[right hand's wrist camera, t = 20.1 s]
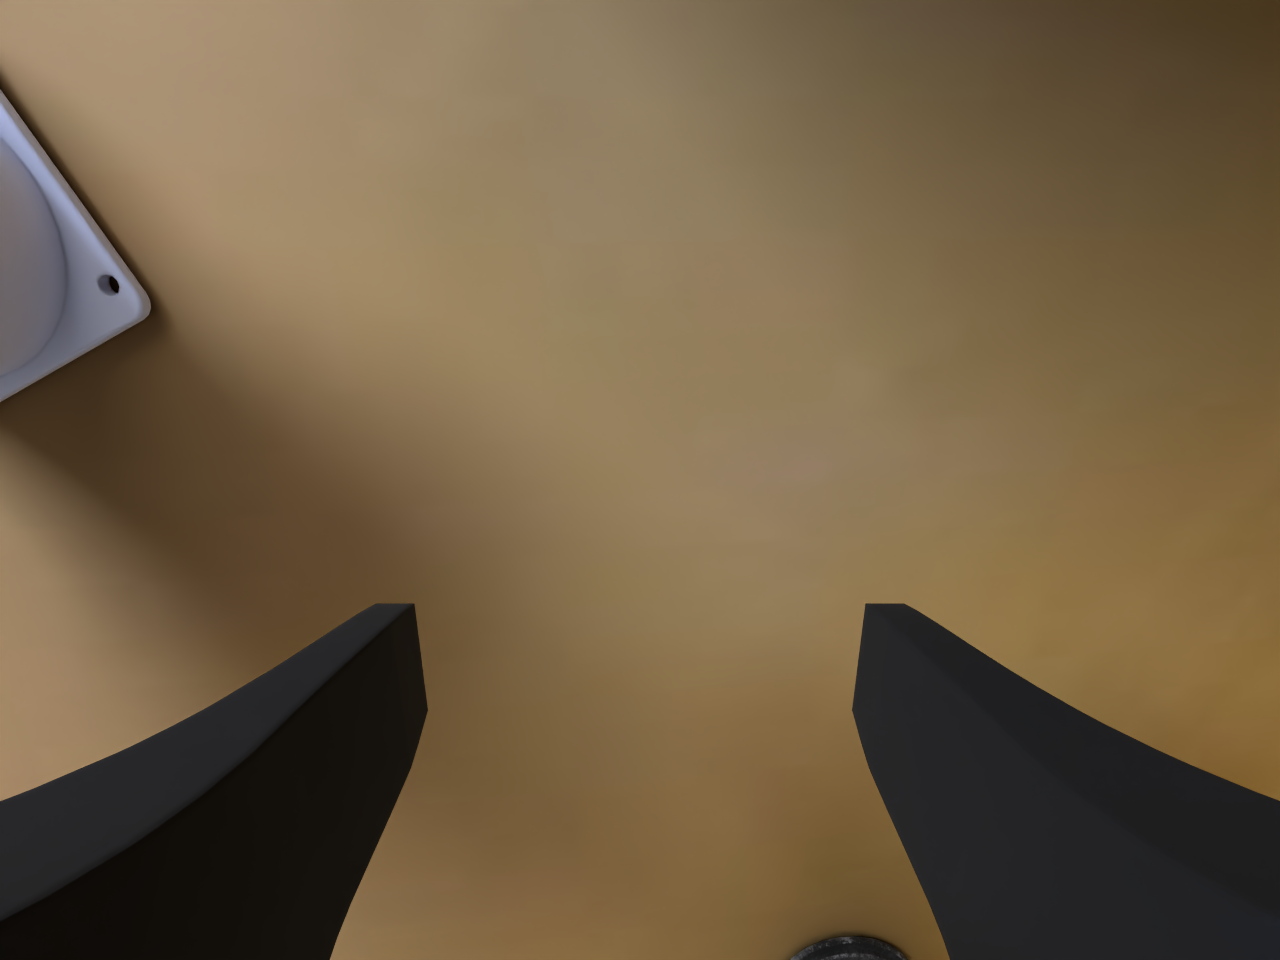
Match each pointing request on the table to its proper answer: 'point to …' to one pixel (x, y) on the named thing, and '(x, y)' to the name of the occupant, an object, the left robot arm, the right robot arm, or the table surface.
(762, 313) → the table surface
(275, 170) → the table surface
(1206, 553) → the table surface
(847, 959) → the grey tall tapered piece
